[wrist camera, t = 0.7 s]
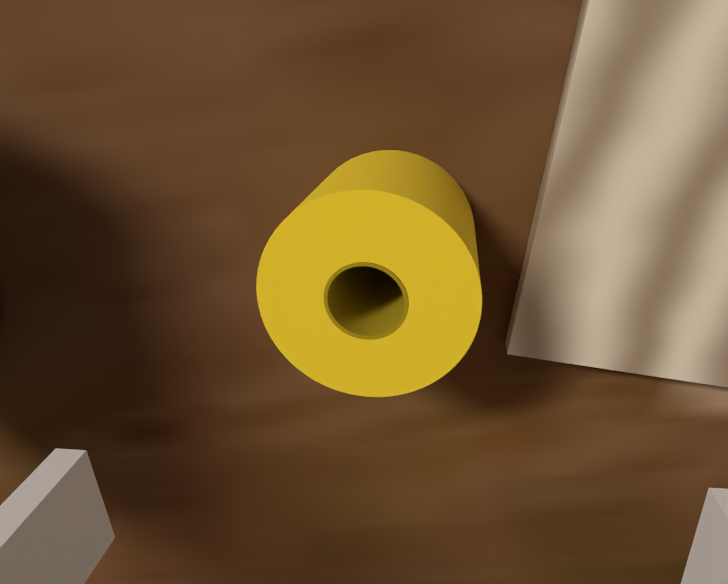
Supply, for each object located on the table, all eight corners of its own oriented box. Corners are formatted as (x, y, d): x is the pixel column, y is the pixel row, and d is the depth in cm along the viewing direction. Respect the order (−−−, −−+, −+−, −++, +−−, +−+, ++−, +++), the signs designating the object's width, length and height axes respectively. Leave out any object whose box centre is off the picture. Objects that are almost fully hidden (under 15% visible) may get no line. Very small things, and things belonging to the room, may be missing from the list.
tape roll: (507, 199, 30) (528, 258, 21) (425, 335, 34) (415, 428, 26) (348, 118, 29) (305, 146, 21) (285, 266, 34) (228, 338, 25)
